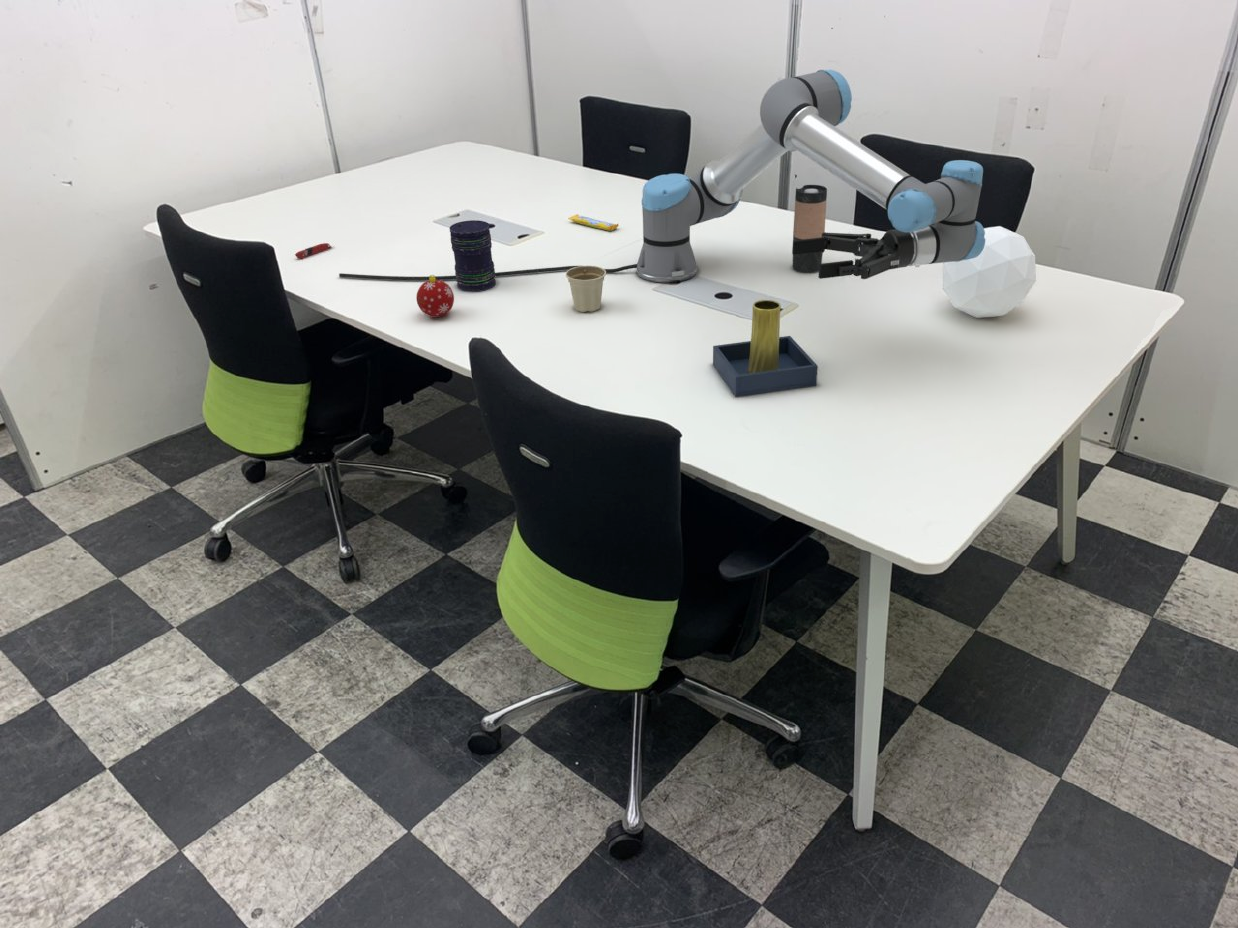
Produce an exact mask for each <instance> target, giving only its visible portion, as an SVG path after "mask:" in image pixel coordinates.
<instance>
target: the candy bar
mask: <svg viewBox="0 0 1238 928" xmlns="http://www.w3.org/2000/svg"><path fill="white" fill-rule="evenodd" d="M568 220H569V221H571V222H574V223H577V224H581V225H583V226H586V227H590V228H595V229H599V230H603V231H607V232H612V231H614V230H616V229H617V228H618V227H619V225H620V224H619V223H612V222H608V221H603V220H600V219H595V218H592V217H589V216H584V215H579V214H574V215H571V216H570V217H568Z"/></svg>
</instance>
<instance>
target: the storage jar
mask: <svg viewBox="0 0 1238 928" xmlns="http://www.w3.org/2000/svg"><path fill="white" fill-rule="evenodd" d="M449 233H450V245H451V250H452V252H453V256H454V276H456V278H457V279H456V282H457V283H456V286H457V289H458V290H459V291H463V292H468V293H478V292H479V293H480V292H483V291H488V290H490V289H492V288H494V287H495V286H496V284H497V282H496V276H495V273H496V269H495V262H494V261H493V254H492V245H493V243H492V235H491V230H490V224H489V222H487V221H484V220H479V219H477V220H475V219H473V220H471V219H469V220H463V221H459V222H455V223H453V224H452V225H450V226H449Z"/></svg>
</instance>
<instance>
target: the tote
mask: <svg viewBox="0 0 1238 928" xmlns="http://www.w3.org/2000/svg"><path fill="white" fill-rule="evenodd" d="M750 346H751V340H747V341H739V342H733V343H732V342H731V343H725V344H717V345H713V346H712V366H713V367H714V369H715V370H716V371H717V373H718V374H719V376H720V377H721V379H722V380H723V382H724V383H725V385H727V387H728V389H729V390H730V392H731V393H732V394H733V396H734V398H738V397H745V396H752V395H759V394H765V393H767V394H768V393H774V392H780V391H788V390H794V389H802V388H808V387H815V386H817V381H818V368H819V365H817V363H816V362H815V361H814V360H813V359H812V358H811V357H810V355H808V353H807V352H806V351H805V350H804V349H803V348H802V347H801V346H800V345H799V343H797V341H796V340H795V339H794V338H793V337H792V336H791V335H787V336H786V335H785V336H779V360H778V367H779V369H778V370H771V371H764V372H757V373H749V372H748V367H749V357H750Z"/></svg>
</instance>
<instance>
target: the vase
mask: <svg viewBox="0 0 1238 928" xmlns="http://www.w3.org/2000/svg"><path fill="white" fill-rule="evenodd" d="M781 307H782V306H781V304H780V302H778V301H776V300H772V299H760V300H756V301H755V302H753V304H752V313H751V333H750V335H751V336H750V341H751V346H750V357H749V367H748V372H749V373H757V372H764V371H771V370H778V369H779V367H778V360H779V337H780V329H781V328H780V327H781Z"/></svg>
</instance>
